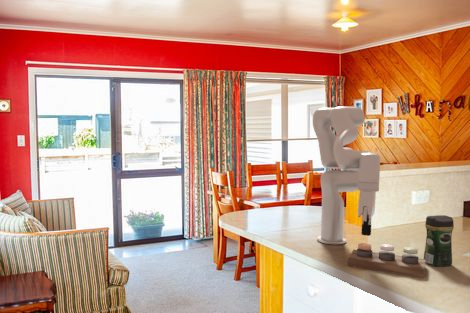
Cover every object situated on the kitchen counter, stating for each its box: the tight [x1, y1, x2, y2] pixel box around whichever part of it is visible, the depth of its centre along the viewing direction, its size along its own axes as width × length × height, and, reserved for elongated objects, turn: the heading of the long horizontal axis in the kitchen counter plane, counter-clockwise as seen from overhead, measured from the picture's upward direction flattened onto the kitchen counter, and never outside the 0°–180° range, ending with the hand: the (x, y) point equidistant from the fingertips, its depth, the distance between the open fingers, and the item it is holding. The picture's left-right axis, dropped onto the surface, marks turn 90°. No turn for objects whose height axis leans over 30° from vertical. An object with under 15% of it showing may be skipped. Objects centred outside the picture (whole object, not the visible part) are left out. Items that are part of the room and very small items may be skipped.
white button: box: [379, 243, 395, 252], centre depth 163 cm, size 5×5×1 cm
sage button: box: [403, 246, 419, 255], centre depth 160 cm, size 5×5×1 cm
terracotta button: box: [357, 243, 372, 250], centre depth 166 cm, size 5×5×1 cm
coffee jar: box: [423, 214, 455, 267], centre depth 167 cm, size 10×8×19 cm
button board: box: [347, 247, 426, 278], centre depth 163 cm, size 12×26×5 cm, turn 65°
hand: (366, 234), depth 166 cm, fingers closed
